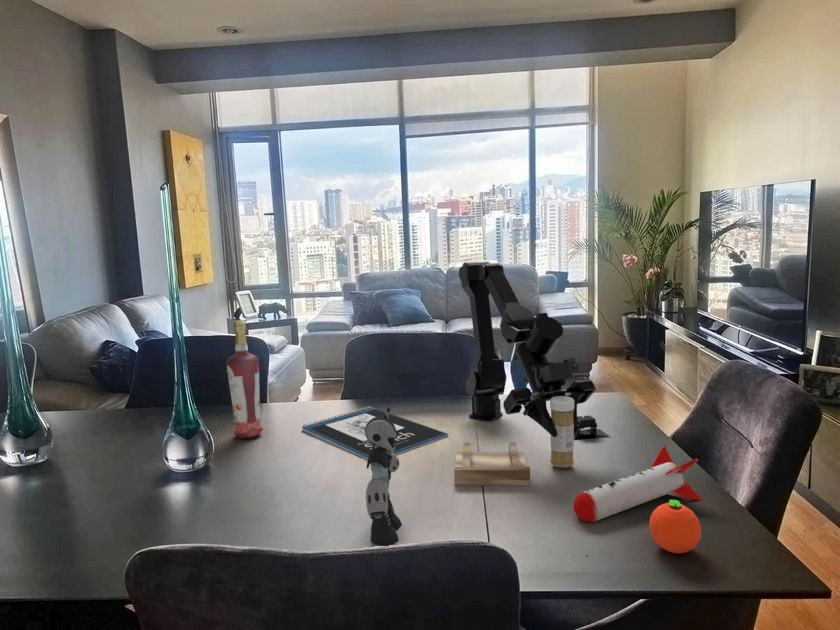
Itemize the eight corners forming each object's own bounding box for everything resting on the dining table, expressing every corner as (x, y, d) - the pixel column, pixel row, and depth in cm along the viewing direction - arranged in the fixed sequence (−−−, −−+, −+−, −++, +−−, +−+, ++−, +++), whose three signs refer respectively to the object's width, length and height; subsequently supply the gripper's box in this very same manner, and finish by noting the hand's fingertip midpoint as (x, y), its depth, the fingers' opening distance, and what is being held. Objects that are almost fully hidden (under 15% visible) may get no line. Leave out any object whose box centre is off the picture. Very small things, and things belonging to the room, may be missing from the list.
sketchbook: (374, 466, 122) (374, 456, 122) (300, 432, 144) (299, 424, 144) (448, 438, 136) (448, 429, 136) (370, 411, 158) (369, 404, 158)
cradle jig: (456, 456, 123) (455, 443, 123) (523, 456, 122) (523, 442, 122) (454, 485, 110) (454, 470, 109) (530, 485, 108) (530, 469, 108)
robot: (378, 503, 103) (373, 394, 100) (406, 503, 103) (401, 393, 100) (360, 567, 84) (352, 433, 81) (394, 567, 84) (387, 432, 81)
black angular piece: (604, 430, 138) (604, 411, 137) (618, 441, 131) (619, 420, 130) (553, 434, 136) (553, 415, 136) (565, 445, 129) (566, 425, 128)
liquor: (269, 436, 140) (260, 321, 136) (239, 443, 136) (229, 324, 132) (257, 428, 146) (248, 318, 142) (228, 435, 142) (218, 321, 138)
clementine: (646, 531, 91) (647, 488, 90) (695, 536, 89) (696, 492, 88) (650, 559, 83) (651, 512, 82) (704, 566, 81) (706, 517, 80)
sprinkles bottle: (565, 458, 119) (565, 394, 117) (578, 466, 115) (579, 400, 113) (545, 461, 117) (545, 397, 115) (558, 470, 113) (558, 403, 111)
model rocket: (548, 493, 101) (571, 466, 94) (650, 458, 110) (678, 432, 103) (581, 554, 95) (608, 531, 88) (685, 512, 104) (718, 488, 97)
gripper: (509, 349, 113) (539, 422, 105) (591, 340, 119) (625, 408, 111) (491, 379, 122) (518, 448, 113) (569, 369, 128) (599, 434, 119)
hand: (566, 434), depth 114 cm, fingers closed on sprinkles bottle, 4 cm apart
